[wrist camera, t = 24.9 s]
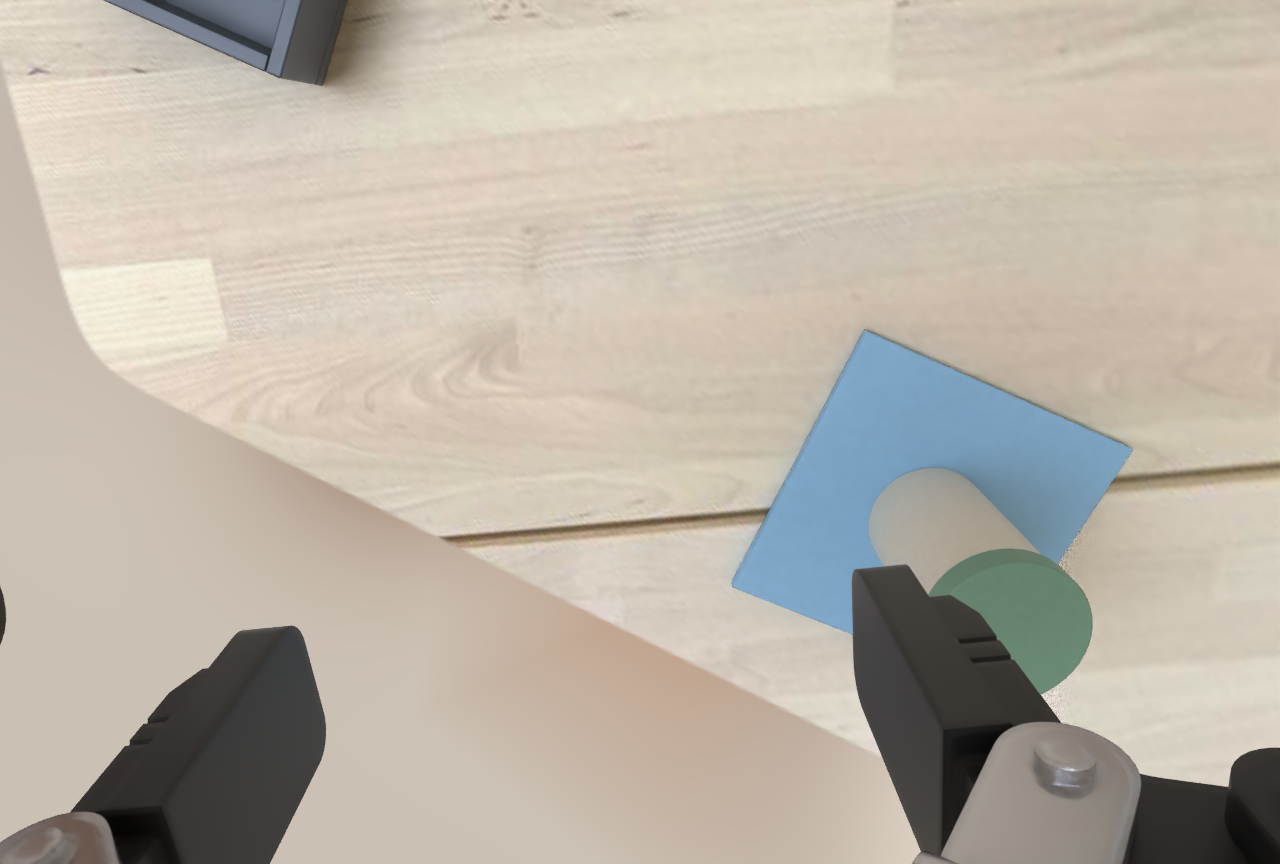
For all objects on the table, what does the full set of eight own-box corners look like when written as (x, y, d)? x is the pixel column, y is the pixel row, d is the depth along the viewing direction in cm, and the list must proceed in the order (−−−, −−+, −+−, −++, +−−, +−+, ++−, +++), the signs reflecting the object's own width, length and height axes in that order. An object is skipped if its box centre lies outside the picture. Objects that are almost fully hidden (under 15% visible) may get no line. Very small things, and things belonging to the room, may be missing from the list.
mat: (975, 678, 44) (978, 684, 44) (731, 582, 43) (732, 587, 42) (1127, 446, 40) (1133, 449, 40) (864, 329, 38) (866, 331, 38)
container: (883, 593, 42) (952, 723, 33) (848, 488, 40) (909, 594, 31) (1003, 553, 41) (1108, 675, 32) (971, 445, 40) (1073, 539, 30)
